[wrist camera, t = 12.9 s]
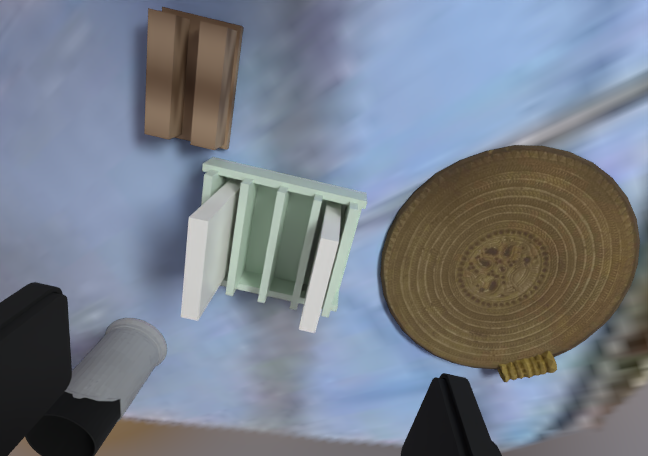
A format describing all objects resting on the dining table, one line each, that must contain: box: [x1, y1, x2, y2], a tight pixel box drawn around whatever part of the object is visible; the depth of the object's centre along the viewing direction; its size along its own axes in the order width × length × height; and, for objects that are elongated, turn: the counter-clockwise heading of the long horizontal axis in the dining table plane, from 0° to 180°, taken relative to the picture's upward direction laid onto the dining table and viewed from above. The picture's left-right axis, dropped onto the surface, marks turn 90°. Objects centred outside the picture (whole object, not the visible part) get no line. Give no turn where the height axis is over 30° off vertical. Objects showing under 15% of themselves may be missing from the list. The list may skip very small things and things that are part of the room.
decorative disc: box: [380, 145, 640, 382], centre depth 44 cm, size 29×3×30 cm
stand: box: [145, 7, 243, 150], centre depth 37 cm, size 12×8×4 cm, turn 168°
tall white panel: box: [181, 178, 243, 321], centre depth 38 cm, size 10×2×12 cm, turn 168°
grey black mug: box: [25, 318, 167, 456], centre depth 47 cm, size 9×14×15 cm, turn 163°
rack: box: [201, 157, 367, 333], centre depth 39 cm, size 14×17×11 cm
